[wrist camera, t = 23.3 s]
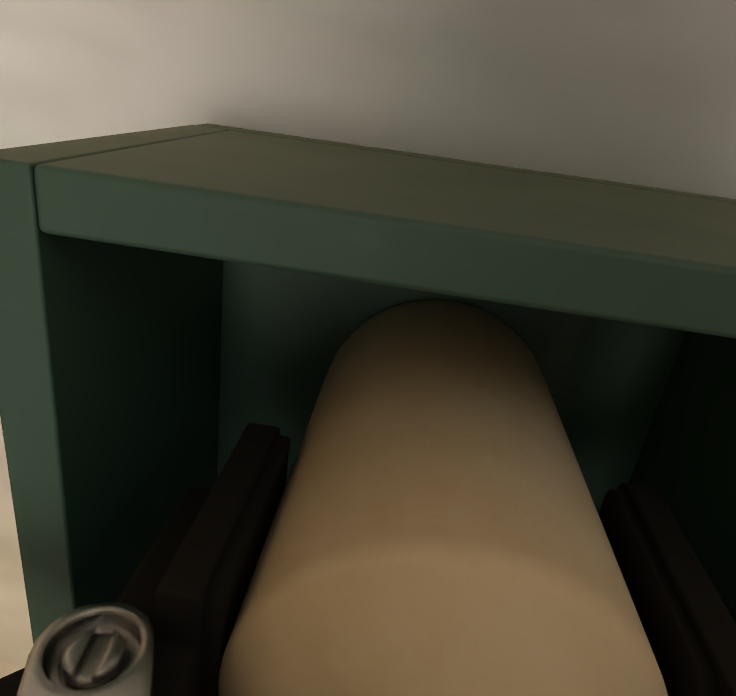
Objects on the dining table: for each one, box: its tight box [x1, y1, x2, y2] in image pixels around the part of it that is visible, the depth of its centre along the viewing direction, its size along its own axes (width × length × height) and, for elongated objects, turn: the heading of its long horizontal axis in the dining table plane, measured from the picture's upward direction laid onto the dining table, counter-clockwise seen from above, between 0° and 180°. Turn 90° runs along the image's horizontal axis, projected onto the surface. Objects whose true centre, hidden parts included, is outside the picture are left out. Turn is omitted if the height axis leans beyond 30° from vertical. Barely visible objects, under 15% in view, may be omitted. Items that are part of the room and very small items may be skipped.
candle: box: [218, 300, 668, 696], centre depth 10 cm, size 6×6×10 cm
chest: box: [0, 124, 736, 643], centre depth 13 cm, size 15×13×8 cm
